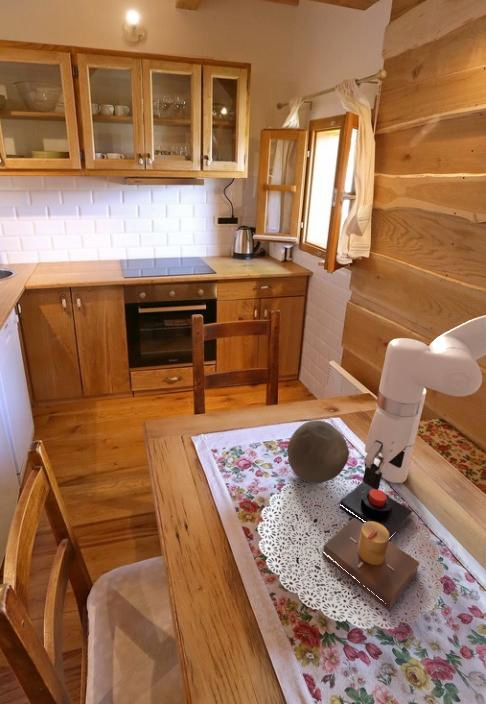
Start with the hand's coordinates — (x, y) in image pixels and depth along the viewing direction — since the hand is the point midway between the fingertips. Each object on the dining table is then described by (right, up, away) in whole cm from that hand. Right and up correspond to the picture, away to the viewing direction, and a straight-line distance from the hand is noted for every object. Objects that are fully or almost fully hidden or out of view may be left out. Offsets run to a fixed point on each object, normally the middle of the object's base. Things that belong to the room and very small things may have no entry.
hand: (382, 474), depth 84 cm
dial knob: (-4, -13, -5) cm, 15 cm away
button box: (+2, -12, +8) cm, 15 cm away
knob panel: (-4, -16, -4) cm, 17 cm away
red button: (+2, -9, +7) cm, 11 cm away
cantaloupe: (-10, -8, +19) cm, 23 cm away
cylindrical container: (+11, -8, +21) cm, 25 cm away
